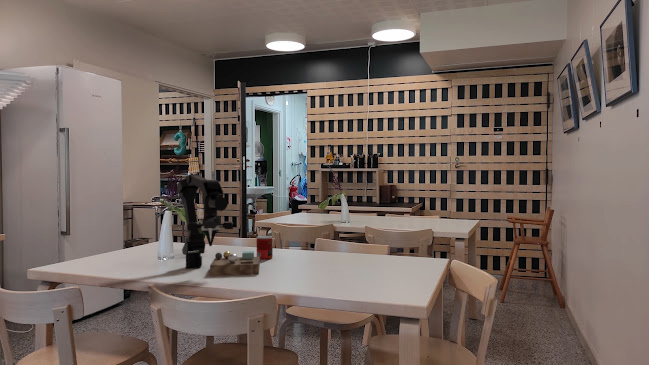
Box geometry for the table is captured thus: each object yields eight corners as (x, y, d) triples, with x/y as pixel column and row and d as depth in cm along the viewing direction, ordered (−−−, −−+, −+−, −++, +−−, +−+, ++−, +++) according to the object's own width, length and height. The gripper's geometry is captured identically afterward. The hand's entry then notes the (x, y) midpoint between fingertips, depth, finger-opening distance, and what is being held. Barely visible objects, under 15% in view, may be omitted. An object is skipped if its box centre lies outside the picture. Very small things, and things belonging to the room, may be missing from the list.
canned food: (271, 260, 229) (271, 237, 229) (255, 260, 230) (255, 237, 229) (273, 257, 237) (273, 235, 237) (257, 257, 237) (257, 235, 237)
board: (210, 275, 193) (210, 265, 193) (215, 267, 211) (215, 257, 211) (258, 274, 195) (258, 264, 195) (259, 266, 213) (259, 256, 213)
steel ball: (227, 264, 196) (227, 254, 196) (228, 262, 200) (228, 253, 200) (237, 263, 196) (237, 254, 196) (237, 262, 200) (237, 252, 200)
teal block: (242, 258, 206) (242, 253, 206) (242, 256, 211) (242, 251, 211) (253, 258, 207) (253, 252, 207) (254, 256, 212) (254, 251, 212)
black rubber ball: (214, 260, 205) (214, 253, 205) (215, 258, 208) (215, 252, 208) (221, 259, 206) (221, 253, 206) (222, 258, 209) (222, 251, 209)
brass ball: (223, 259, 207) (222, 252, 207) (223, 258, 210) (223, 250, 210) (230, 259, 208) (230, 251, 208) (230, 257, 211) (230, 250, 211)
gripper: (185, 211, 187) (185, 249, 187) (232, 210, 191) (233, 248, 191) (188, 209, 198) (188, 245, 198) (232, 208, 202) (233, 244, 202)
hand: (210, 246), depth 197 cm, fingers closed
